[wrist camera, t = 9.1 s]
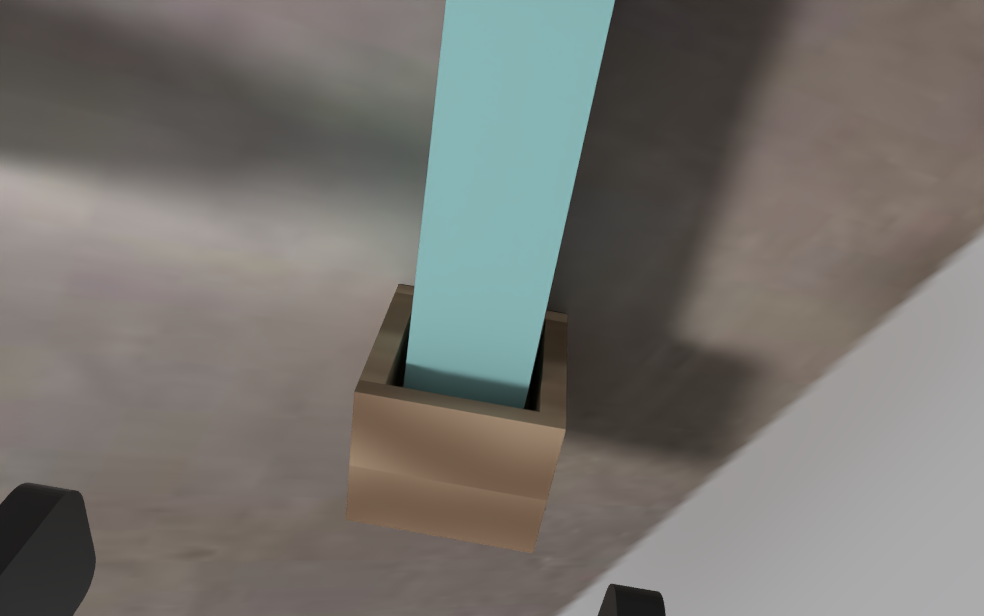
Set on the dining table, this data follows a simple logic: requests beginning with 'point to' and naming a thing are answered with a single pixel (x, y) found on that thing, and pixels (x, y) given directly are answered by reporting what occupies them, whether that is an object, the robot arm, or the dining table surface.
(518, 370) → the long turquoise beam
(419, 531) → the socket
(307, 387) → the dining table surface
